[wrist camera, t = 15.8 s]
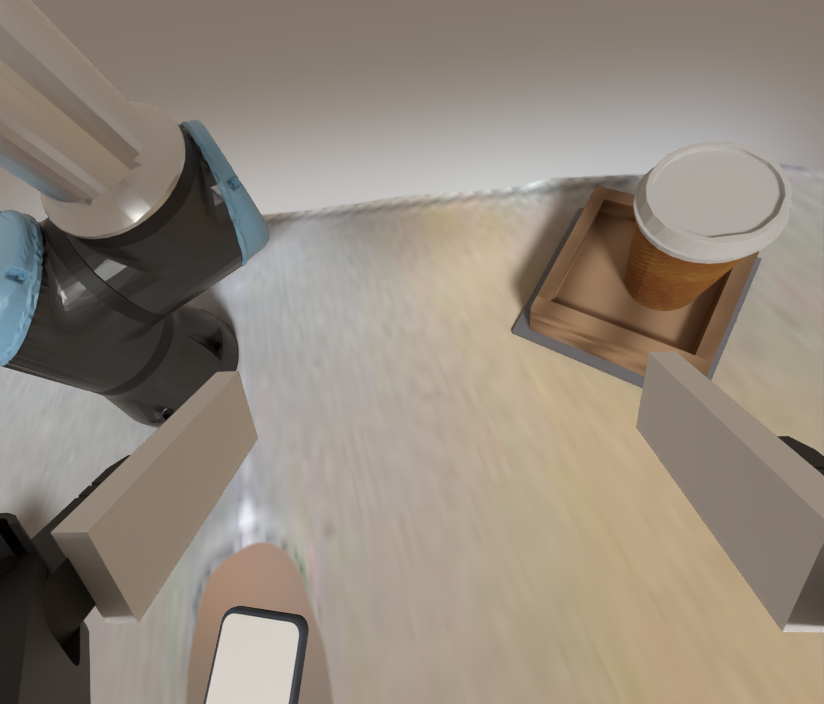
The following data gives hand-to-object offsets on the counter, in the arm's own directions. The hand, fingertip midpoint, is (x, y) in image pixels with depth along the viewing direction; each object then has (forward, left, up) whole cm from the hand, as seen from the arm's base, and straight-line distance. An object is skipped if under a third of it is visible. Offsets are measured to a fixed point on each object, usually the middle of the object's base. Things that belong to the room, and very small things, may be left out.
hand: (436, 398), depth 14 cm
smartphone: (-9, -28, -29) cm, 42 cm away
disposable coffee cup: (+6, +23, -25) cm, 35 cm away
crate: (+4, +23, -28) cm, 37 cm away
